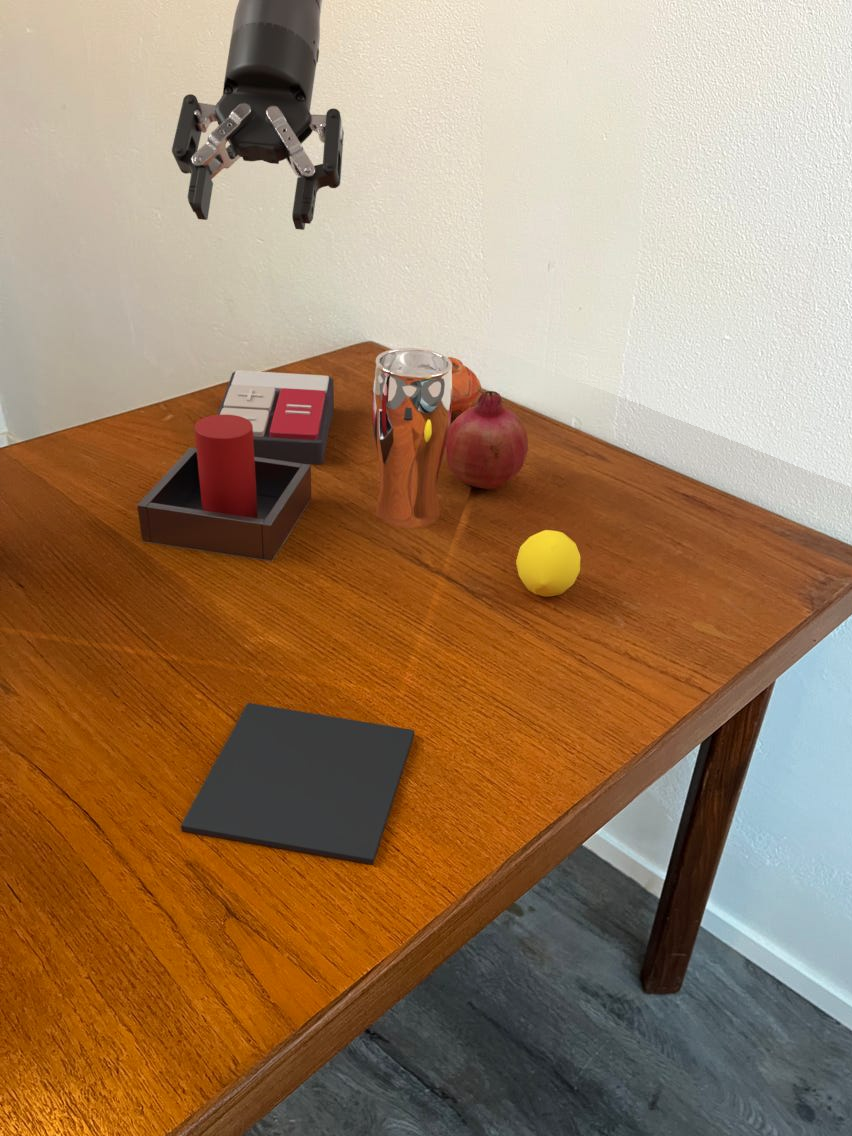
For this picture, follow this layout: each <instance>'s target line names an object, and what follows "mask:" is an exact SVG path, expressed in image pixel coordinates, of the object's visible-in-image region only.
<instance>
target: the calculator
mask: <svg viewBox="0 0 852 1136" xmlns="http://www.w3.org/2000/svg"><path fill="white" fill-rule="evenodd" d="M334 382H335V381H334V378H333V377H330V376H329V375H325V374H324V375H321V374H307V373H305V374H304V373H303V374H302V373H291V372H290V373H288V372H274V371H257V370H256V371H255V370H239V369H237V370H235V371H233V372H232V373H231V376H230V378H229V381H228V383H227V387H226V389H225V393H224V395H223V398H222V401H221V403H220V406H219V409H218V412H217V414H216V415H236V416H240V417H243V418H246V419H247V420H249V421H250V422H251V423H252V426H253V442H254V457H260V458H267V459H274V460H281V461H287V462H294V463H301V464H308V465H314V466H321V465H323V464H324V462H325V461H324V460H325V455H326V449H327V444H328V439H329V432H330V429H331V422H332V420H333V415H334V409H335V403H334V402H335V394H334V391H335V388H334V387H335V386H334V385H335V383H334Z"/></svg>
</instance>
